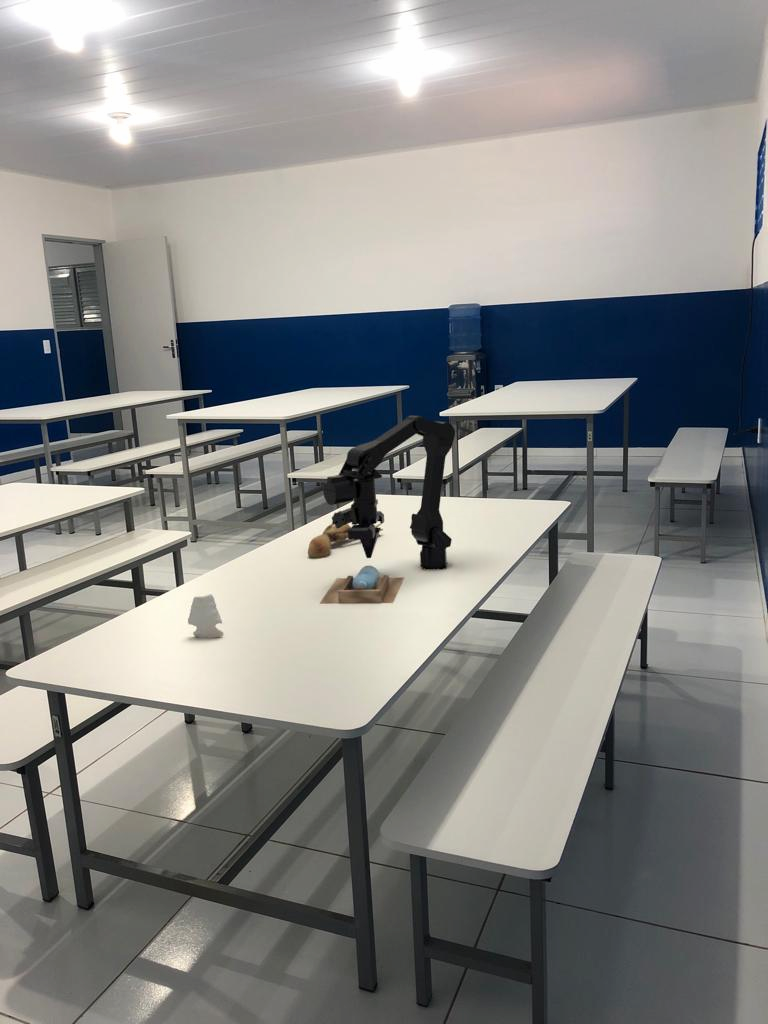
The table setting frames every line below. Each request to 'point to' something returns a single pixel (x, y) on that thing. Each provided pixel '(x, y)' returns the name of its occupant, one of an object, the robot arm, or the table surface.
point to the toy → (328, 540)
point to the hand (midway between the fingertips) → (369, 557)
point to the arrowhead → (205, 617)
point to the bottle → (366, 578)
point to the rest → (362, 591)
